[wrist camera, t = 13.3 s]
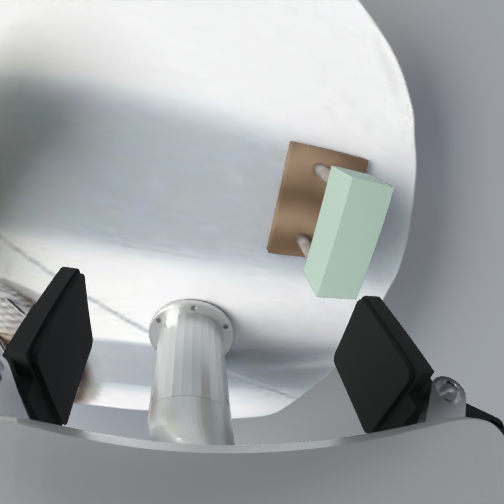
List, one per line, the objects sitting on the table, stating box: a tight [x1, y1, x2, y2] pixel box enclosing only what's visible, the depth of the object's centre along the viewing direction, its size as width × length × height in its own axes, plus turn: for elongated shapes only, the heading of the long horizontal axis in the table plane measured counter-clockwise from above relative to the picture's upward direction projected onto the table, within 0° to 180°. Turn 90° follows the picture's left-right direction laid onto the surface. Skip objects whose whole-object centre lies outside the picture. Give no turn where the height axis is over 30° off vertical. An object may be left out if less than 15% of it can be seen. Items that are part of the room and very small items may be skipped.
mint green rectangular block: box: [303, 166, 394, 299], centre depth 30 cm, size 4×12×5 cm, turn 170°
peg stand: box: [267, 141, 368, 258], centre depth 36 cm, size 14×10×7 cm
